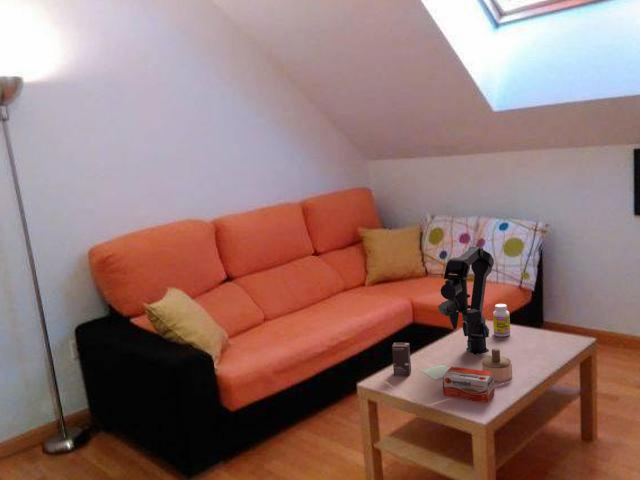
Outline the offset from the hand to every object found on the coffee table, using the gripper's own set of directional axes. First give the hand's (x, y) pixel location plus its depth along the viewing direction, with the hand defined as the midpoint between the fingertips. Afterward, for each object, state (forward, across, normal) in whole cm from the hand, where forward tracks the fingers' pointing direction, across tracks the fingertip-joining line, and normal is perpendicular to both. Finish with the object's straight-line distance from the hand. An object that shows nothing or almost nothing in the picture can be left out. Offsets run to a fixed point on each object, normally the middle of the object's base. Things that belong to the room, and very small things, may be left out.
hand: (461, 332), depth 221 cm
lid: (+8, +16, +3) cm, 18 cm away
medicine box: (+13, +23, -14) cm, 30 cm away
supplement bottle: (+13, -17, +31) cm, 38 cm away
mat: (+12, +2, -12) cm, 17 cm away
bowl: (+12, +16, +3) cm, 21 cm away
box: (+13, -4, -24) cm, 27 cm away
